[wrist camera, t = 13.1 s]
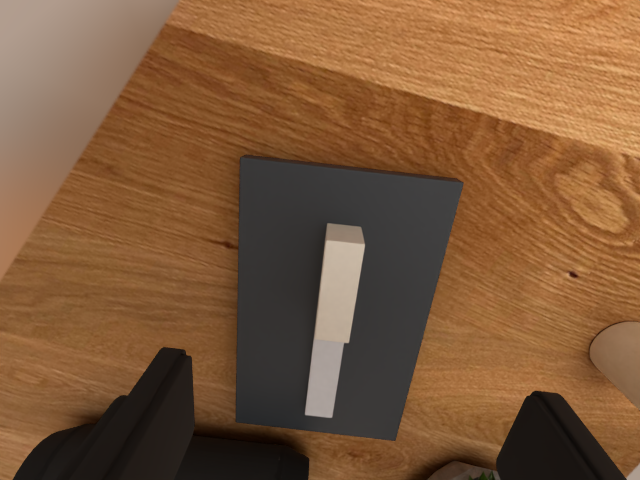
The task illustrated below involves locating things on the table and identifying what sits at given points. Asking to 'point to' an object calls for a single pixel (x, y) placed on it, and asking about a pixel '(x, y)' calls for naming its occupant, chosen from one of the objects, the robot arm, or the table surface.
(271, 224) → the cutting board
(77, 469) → the robot arm
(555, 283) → the table surface
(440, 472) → the potted plant
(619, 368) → the candle
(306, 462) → the portable speaker
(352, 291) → the white stepped bar
